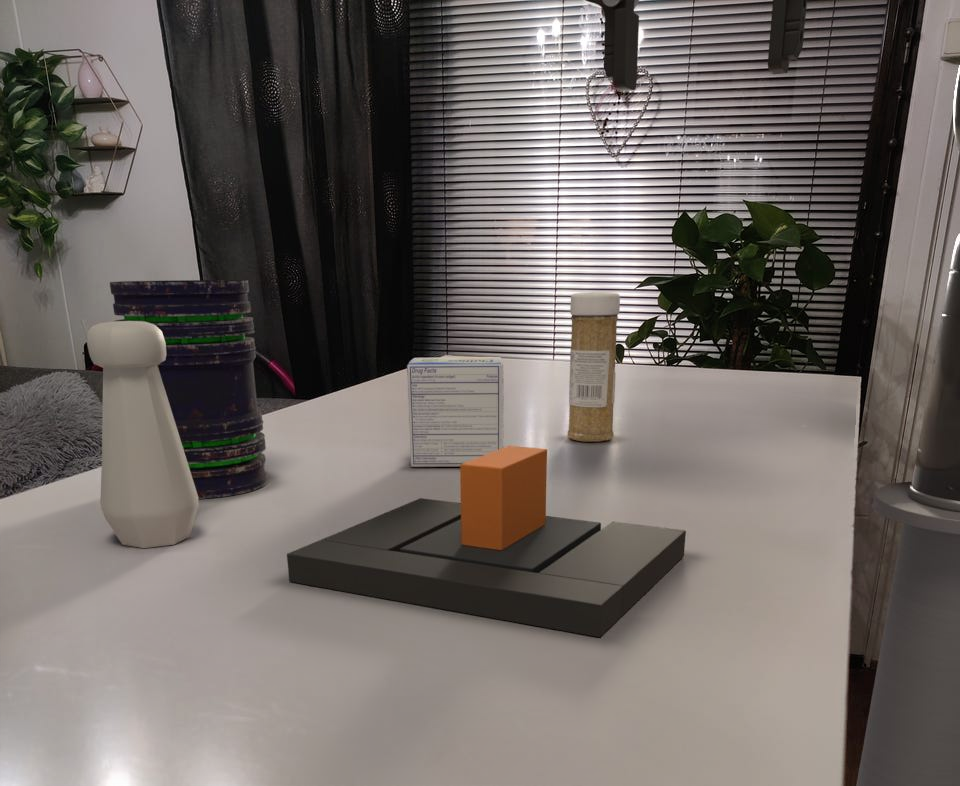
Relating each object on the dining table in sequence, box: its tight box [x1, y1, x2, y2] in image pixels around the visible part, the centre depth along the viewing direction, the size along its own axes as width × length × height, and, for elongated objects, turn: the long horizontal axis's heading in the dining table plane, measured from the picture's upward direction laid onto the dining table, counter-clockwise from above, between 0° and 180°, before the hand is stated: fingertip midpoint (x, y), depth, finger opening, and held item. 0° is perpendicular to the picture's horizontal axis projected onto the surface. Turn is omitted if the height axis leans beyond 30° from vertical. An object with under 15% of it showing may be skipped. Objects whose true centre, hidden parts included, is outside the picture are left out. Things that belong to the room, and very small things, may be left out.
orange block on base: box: [400, 445, 602, 573], centre depth 51 cm, size 10×8×6 cm
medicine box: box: [406, 356, 505, 468], centre depth 77 cm, size 8×4×9 cm, turn 88°
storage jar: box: [109, 279, 268, 500], centre depth 69 cm, size 10×10×15 cm
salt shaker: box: [86, 320, 199, 549], centre depth 55 cm, size 6×6×13 cm
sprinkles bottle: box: [567, 291, 621, 443], centre depth 86 cm, size 5×5×13 cm
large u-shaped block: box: [286, 497, 687, 638], centre depth 51 cm, size 14×18×2 cm
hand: (697, 81), depth 50 cm, fingers open, 8 cm apart
